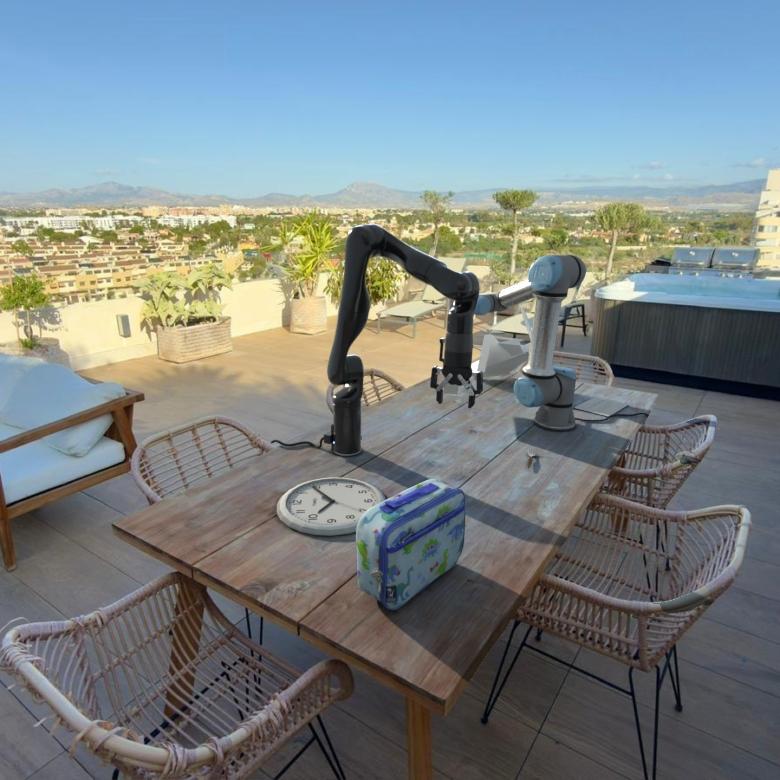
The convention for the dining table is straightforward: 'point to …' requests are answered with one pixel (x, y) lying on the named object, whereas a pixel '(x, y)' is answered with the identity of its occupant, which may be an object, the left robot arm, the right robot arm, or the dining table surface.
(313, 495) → the wall clock
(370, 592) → the lunch box
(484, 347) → the white plastic object
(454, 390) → the bar
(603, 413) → the invitation card
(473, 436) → the dining table surface
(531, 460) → the fork
